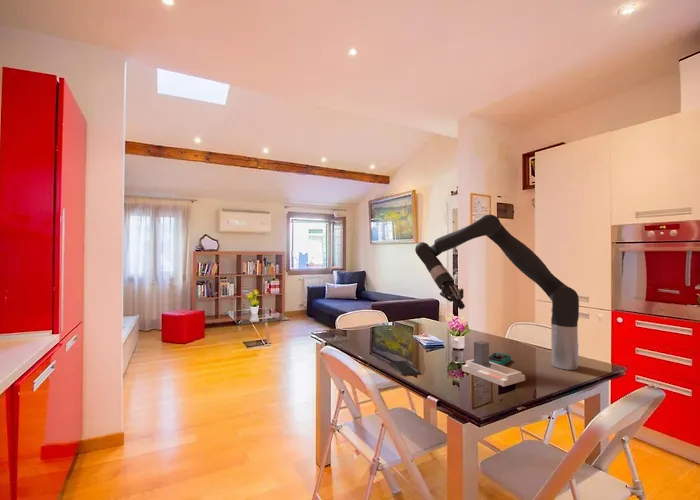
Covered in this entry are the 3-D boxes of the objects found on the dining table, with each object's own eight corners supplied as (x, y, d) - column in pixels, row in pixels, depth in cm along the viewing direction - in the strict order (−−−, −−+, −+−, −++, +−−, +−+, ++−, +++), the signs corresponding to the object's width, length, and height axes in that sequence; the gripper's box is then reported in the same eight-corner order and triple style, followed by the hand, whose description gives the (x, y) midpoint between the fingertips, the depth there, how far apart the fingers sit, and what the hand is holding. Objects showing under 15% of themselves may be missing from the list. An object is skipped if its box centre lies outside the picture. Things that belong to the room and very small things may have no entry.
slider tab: (480, 362, 138) (480, 340, 139) (490, 366, 134) (490, 343, 134) (472, 364, 136) (472, 341, 136) (482, 368, 132) (482, 344, 132)
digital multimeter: (511, 361, 150) (511, 354, 150) (500, 369, 138) (500, 362, 138) (494, 358, 154) (494, 351, 154) (482, 366, 143) (482, 359, 143)
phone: (405, 360, 147) (421, 372, 132) (405, 363, 147) (421, 375, 132) (388, 361, 145) (402, 373, 130) (388, 364, 145) (402, 376, 130)
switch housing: (482, 365, 142) (482, 357, 142) (525, 380, 125) (525, 371, 125) (461, 370, 136) (461, 361, 136) (503, 386, 120) (503, 376, 120)
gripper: (434, 272, 149) (456, 303, 138) (456, 271, 155) (478, 301, 145) (426, 283, 154) (446, 314, 143) (448, 282, 160) (468, 312, 149)
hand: (462, 308), depth 144 cm, fingers closed
